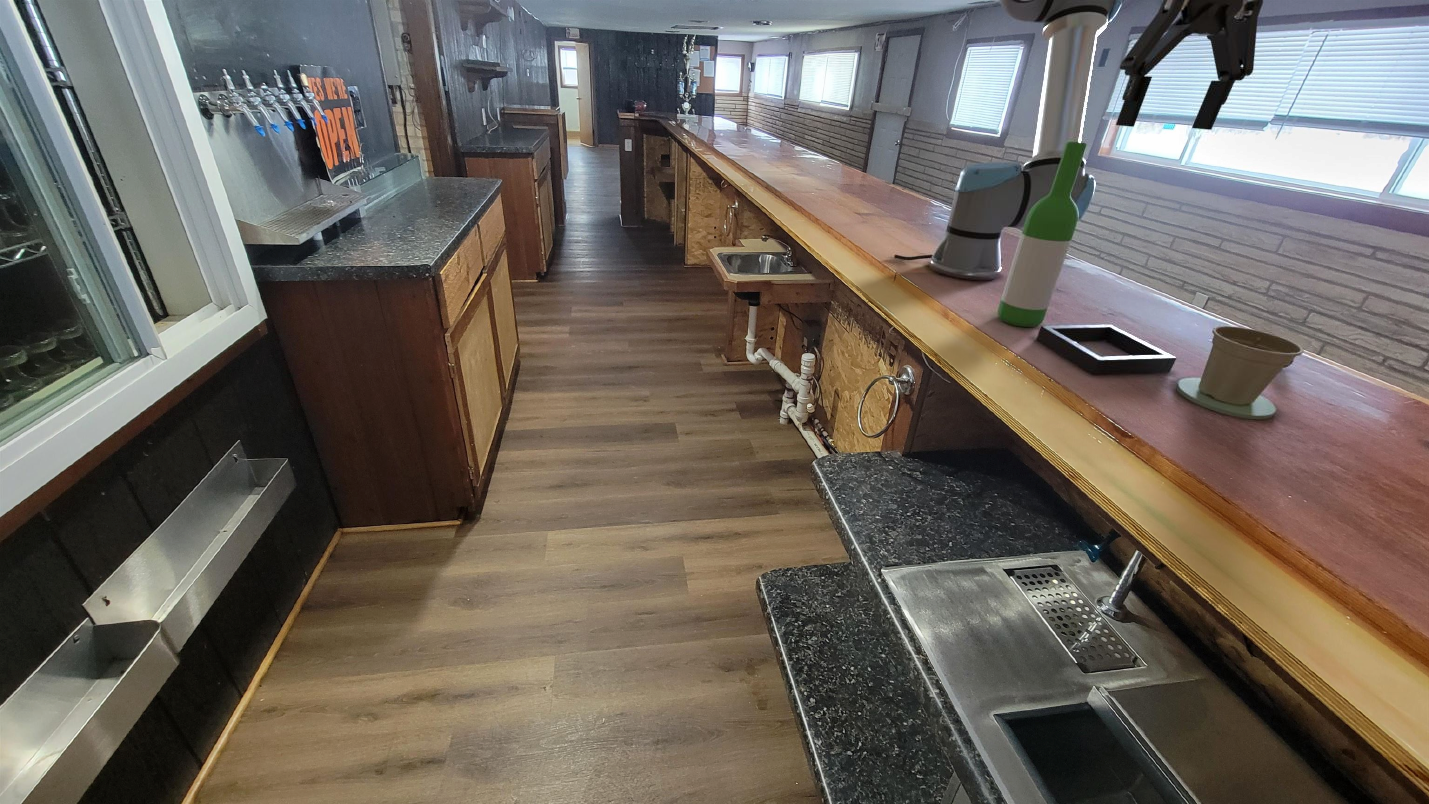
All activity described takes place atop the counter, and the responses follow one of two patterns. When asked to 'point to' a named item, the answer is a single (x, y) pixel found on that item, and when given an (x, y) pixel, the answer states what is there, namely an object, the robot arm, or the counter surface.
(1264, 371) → the flower pot
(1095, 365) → the holder
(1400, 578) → the counter surface
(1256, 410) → the coaster
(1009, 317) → the wine bottle
